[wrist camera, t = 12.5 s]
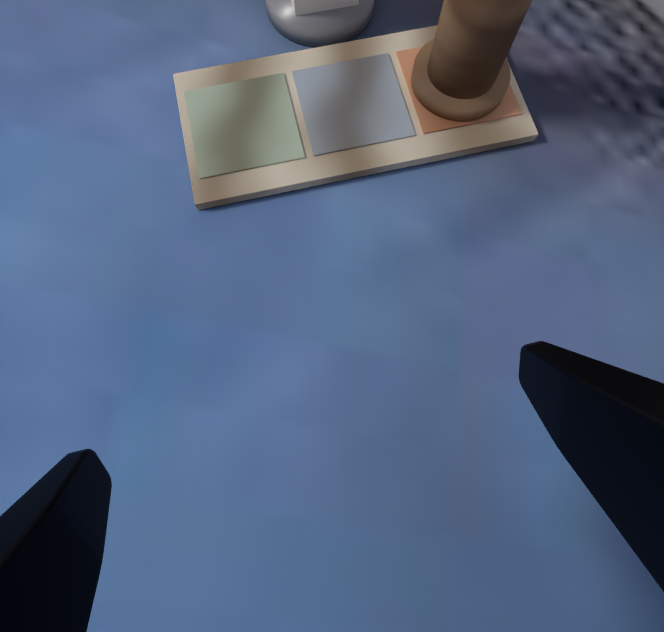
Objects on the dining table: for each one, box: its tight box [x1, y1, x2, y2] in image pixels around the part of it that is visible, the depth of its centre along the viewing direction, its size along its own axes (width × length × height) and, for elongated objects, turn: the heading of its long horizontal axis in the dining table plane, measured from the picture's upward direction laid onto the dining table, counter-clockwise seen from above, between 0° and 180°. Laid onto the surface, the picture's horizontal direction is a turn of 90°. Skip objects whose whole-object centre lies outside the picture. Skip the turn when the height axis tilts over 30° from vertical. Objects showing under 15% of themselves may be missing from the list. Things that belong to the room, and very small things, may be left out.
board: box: [173, 25, 538, 210], centre depth 25 cm, size 20×9×1 cm, turn 103°
